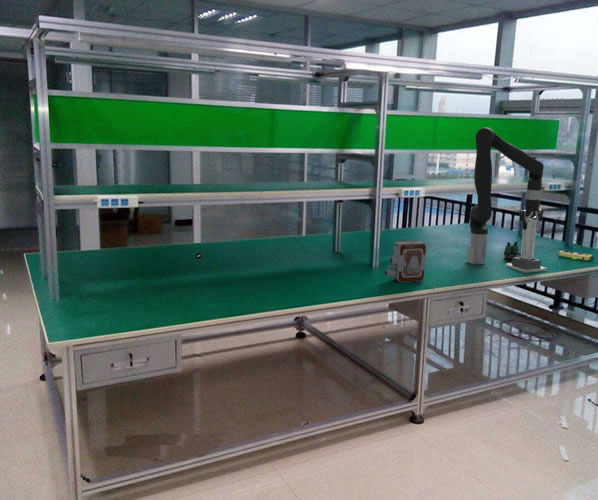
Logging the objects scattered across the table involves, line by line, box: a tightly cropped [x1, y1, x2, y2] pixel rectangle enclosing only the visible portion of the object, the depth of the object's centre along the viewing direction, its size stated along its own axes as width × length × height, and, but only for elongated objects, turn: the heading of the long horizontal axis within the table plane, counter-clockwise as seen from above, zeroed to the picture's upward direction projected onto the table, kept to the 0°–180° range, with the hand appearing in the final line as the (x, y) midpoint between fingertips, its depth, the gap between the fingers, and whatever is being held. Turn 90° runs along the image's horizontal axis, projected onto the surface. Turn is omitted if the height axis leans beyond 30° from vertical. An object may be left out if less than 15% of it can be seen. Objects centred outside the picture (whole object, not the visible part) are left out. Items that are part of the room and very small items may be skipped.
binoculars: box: [503, 241, 521, 262], centre depth 323 cm, size 9×11×10 cm
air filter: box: [519, 218, 538, 261], centre depth 302 cm, size 6×6×25 cm
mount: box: [504, 257, 548, 274], centre depth 304 cm, size 15×15×6 cm
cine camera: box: [384, 240, 427, 283], centre depth 275 cm, size 9×19×20 cm, turn 103°
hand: (529, 228), depth 300 cm, fingers closed on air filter, 6 cm apart
